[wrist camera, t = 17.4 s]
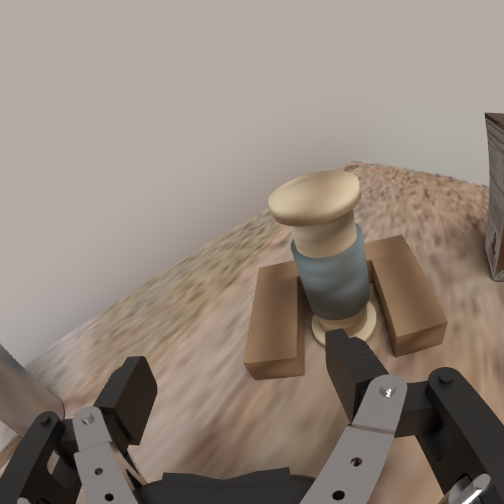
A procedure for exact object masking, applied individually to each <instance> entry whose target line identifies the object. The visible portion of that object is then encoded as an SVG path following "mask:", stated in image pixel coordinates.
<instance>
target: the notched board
mask: <svg viewBox="0 0 504 504" xmlns="http://www.w3.org/2000/svg"><path fill="white" fill-rule="evenodd" d="M364 247H365V254H366V262H367V270H368V278H369V282H372V281H374V284H375V287H376V290H377V293H378V296H379V300H380V303H381V306H382V310H383V313H384V317H385V320H386V324H387V327H388V331H389V335H390V338H391V342H392V346H393V350H394V354H395V357H398V356H402V355H406V354H409V353H413V352H416V351H420V350H423V349H426V348H429V347H433V346H436V345H439V344H442V341H443V337H444V334H445V330H446V326H447V319H446V317H445V315H444V313H443V311H442V308H441V306H440V304H439V302H438V300H437V298H436V296H435V294H434V292H433V290H432V288H431V286H430V284H429V282H428V280H427V278H426V276H425V274H424V273H423V271H422V269H421V267H420V265H419V263H418V262H417V260H416V258H415V256H414V255H413V253H412V251H411V249H410V248H409V246H408V244H407V243H406V241H405V239H404V238H403V236H402V235H398V236H394V237H390V238H386V239H382V240H378V241H374V242H370V243H366V244H364ZM305 296H306V293H305V290H304V287H303V284H302V281H301V278H300V274H299V271H298V268H297V265H296V262H295V260H293V261H289V262H285V263H280V264H276V265H271V266H267V267H262V268H259V272H258V278H257V285H256V291H255V297H254V303H253V309H252V315H251V321H250V327H249V333H248V339H247V345H246V350H245V356H244V362H243V364H244V365H245V366H246V368H247V369H248V370H249V372H250V373H251V375H252V376H253V377H254V379H255V380H263V379H274V378H284V377H292V376H300V375H304V297H305Z"/></svg>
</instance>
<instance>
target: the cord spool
mask: <svg viewBox="0 0 504 504" xmlns="http://www.w3.org/2000/svg"><path fill="white" fill-rule="evenodd" d="M360 199H361V191H360V186H359V181H358V178H357V177H356V176H355V175H354V174H352V173H350V172H346V171H338V170H331V171H321V172H316V173H311V174H307V175H304V176H301V177H298V178H296V179H293V180H291V181H289V182H287V183H285V184H283V185H282V186H280V187H279V188H278V189H276V190H275V191H274V192H273V193H272V194H271V195H270V197H269V200H268V203H269V206H270V209H271V211H272V214H273V217H274V219H275V220H276V221H277V222H279V223H281V224H284V225H288V226H289V227H290V230H291V233H292V236H293V240H292V243H291V250H292V253H293V256H294V259H295V262H296V265H297V268H298V271H299V274H300V278H301V281H302V284H303V287H304V290H305V293H306V296H307V299H308V302H309V306H310V308H311V310H312V312H313V313H314V315H313V318H312V330H313V333H314V336H315V338H316V340H317V342H318V343H319V344H320V345H321V346H322V347H324V348H325V332H327V331H332V330H336V329H340V328H343V329H344V331H345V332H346V334H347V335H348V337H349V338H351V337H355V336H356V337H358V338H360V339H362V340H364V341H365V342H367V341H368V340H369V339H370V338H371V337H372V335H373V334H374V332H375V329H376V312H375V309H374V307H373V305H372V304H371V303H370V302H369V298H370V288H369V278H368V270H367V262H366V254H365V247H364V240H363V234H362V230H361V228H360V227H359V226H358V225H357V224H356V223H355V220H354V215H353V210H352V209H353V208H355V206H356V205H357V204H358V203H359V202H360Z"/></svg>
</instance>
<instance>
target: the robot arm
mask: <svg viewBox="0 0 504 504" xmlns="http://www.w3.org/2000/svg"><path fill="white" fill-rule="evenodd" d="M325 350H326V366H327V370H328V373H329V376H330V378H331V380H332V382H333V385H334V387H335V389H336V391H337V394H338V396H339V398H340V401H341V403H342V405H343V407H344V410H345V412H346V414H347V417H348V419H349V421H350V424H348V425H347V427H346V428H345V430H344V432H343V434H342V436H341V437H340V439H339V441H338V443H337V445H336V447H335V448H334V450H333V452H332V454H331V455H330V457H329V459H328V461H327V462H326V464H325V466H324V467H323V469H322V470H321V472H320V474H319V475H318V477H317V478H313V477H309V476H303V475H290V471H289V467H286V468H280V469H273V470H265V471H256V472H253V473H249V474H246V475H242V476H239V477H235V478H231V479H227V480H218V479H213V478H208V477H203V476H199V475H194V474H180V473H163V477H162V480H159V481H155V482H151V483H147V482H146V481H145V479H144V477H143V476H142V474H141V472H140V470H139V469H138V467H137V465H136V463H135V461H134V459H133V457H132V455H131V453H130V452H129V450H128V449H127V448H128V445H138V446H139V444H140V441H141V438H142V435H143V433H144V430H145V427H146V424H147V421H148V418H149V415H150V412H151V410H152V407H153V404H154V401H155V398H156V396H157V384H156V381H155V379H154V376H153V374H152V372H151V369H150V367H149V365H148V362H147V360H146V358H145V357H144V356H134V357H127V359H126V360H125V362H124V364H123V365H122V367H119V368H118V369H117V370H116V371H115V372H114V373H112V375H111V376H110V378H109V380H108V382H107V383H106V385H105V386H104V387H105V388H103V390H102V391H101V393H100V395H99V396H98V398H97V400H96V401H95V403H94V405H93V406H89V407H84V408H82V409H80V410H79V411H77V412H76V413H75V415H74V416H73V419H66V420H63V418H64V408H63V404H62V402H61V400H59V399H58V398H57V397H56V396H54V395H53V394H52V393H51V392H50V391H48V390H47V389H46V388H45V387H44V386H43V385H41V384H40V383H39V382H38V381H37V380H36V379H35V378H34V377H33V376H32V375H31V374H29V373H28V372H27V371H26V370H25V369H24V368H23V367H22V366H21V365H20V364H19V363H18V362H17V361H16V360H15V359H14V358H13V357H12V356H11V355H10V354H9V353H8V352H7V350H5V349H4V347H3V346H2V345H1V344H0V420H1V421H2V422H3V423H4V424H6V425H7V426H8V427H10V428H11V429H12V430H14V431H15V432H16V433H18V434H19V435H21V436H22V437H23V439H22V441H21V442H20V444H19V446H18V448H17V449H16V451H15V453H14V455H13V456H12V458H11V460H10V462H9V463H8V465H7V467H6V469H5V471H4V473H3V475H2V477H1V479H0V504H76V501H77V498H78V495H79V492H80V489H81V486H83V489H84V492H85V494H86V497H87V500H88V503H89V504H367V502H368V500H369V498H370V496H371V493H372V491H373V489H374V487H375V485H376V482H377V480H378V478H379V475H380V473H381V471H382V468H383V466H384V463H385V461H386V458H387V455H388V453H389V450H390V447H391V444H392V441H393V438H396V437H404V436H411V435H415V436H416V438H417V440H418V442H419V444H420V446H421V448H422V450H423V452H424V454H425V456H426V458H427V460H428V462H429V464H430V466H431V468H432V470H433V472H434V475H435V477H436V479H437V481H438V483H439V485H440V487H441V490H442V492H443V494H444V497H443V498H442V499H441V500H440V501H439V503H438V504H504V425H503V424H502V422H501V421H500V420H499V419H498V417H497V416H496V415H495V414H494V412H493V411H492V410H491V409H490V407H489V406H488V405H487V404H486V403H485V401H484V400H483V399H482V398H481V397H480V395H479V394H478V393H477V392H476V391H475V389H474V388H473V387H472V386H471V385H470V384H469V383H468V381H467V380H466V379H465V378H464V377H463V376H462V375H461V373H460V372H459V371H457V370H455V369H453V368H449V367H442V368H438V369H436V370H434V371H433V372H431V374H430V375H429V378H428V381H423V382H416V383H406V382H405V380H403V379H402V378H401V377H399V376H396V375H390V374H389V373H388V372H387V370H386V369H385V368H384V366H383V365H382V364H381V362H380V361H379V359H378V358H377V357H376V355H374V353H373V351H372V350H371V349H370V347H369V346H368V345H367V343H366V342H365V341H364V340H362V339H360V338H358V337H356V336H355V337H351V338H349V337H348V335H347V334H346V332H345V331H344V329H343V328H340V329H336V330H332V331H327V332H325ZM53 451H54V452H55V453H56V454H57V455H58V456H59V459H58V462H57V464H56V466H55V468H54V471H53V473H52V475H51V474H50V473H49V472H48V469H47V462H48V460H49V458H50V456H51V454H52V452H53Z"/></svg>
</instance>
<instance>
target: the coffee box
mask: <svg viewBox="0 0 504 504" xmlns="http://www.w3.org/2000/svg"><path fill="white" fill-rule="evenodd" d="M485 119H486V128H487V136H488V149H489V172H490V173H489V174H490V185H489V211H488V223H487V233H486V241H485V250H486V253H487V257H488V261H489V265H490V269H491V273H492V277H493V280H494V281H504V114H501V113H485Z"/></svg>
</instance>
